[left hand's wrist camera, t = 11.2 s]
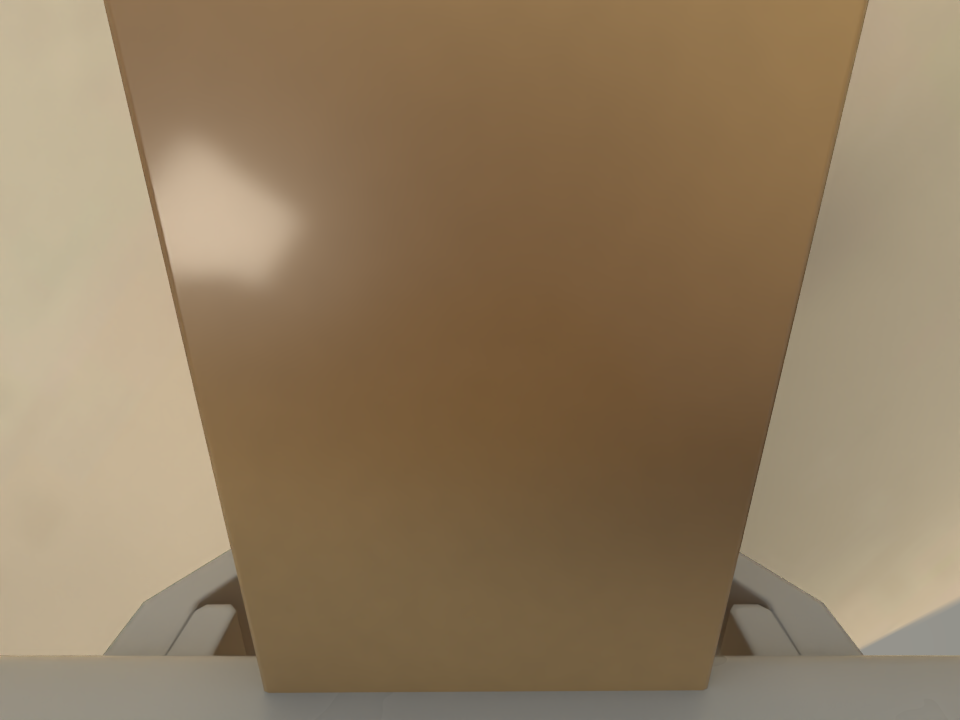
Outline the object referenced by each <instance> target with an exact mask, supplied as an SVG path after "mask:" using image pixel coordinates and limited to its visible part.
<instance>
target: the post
mask: <svg viewBox="0 0 960 720" xmlns="http://www.w3.org/2000/svg"><path fill="white" fill-rule="evenodd" d="M868 1H869V0H104V4H105V8H106V13H107V17H108V21H109V26H110V30H111V34H112V39H113V43H114V47H115V51H116V56H117V60H118V64H119V69H120V73H121V77H122V82H123V86H124V90H125V94H126V99H127V103H128V107H129V112H130V116H131V120H132V125H133V129H134V133H135V137H136V142H137V146H138V150H139V155H140V159H141V163H142V168H143V172H144V176H145V180H146V185H147V189H148V193H149V198H150V202H151V206H152V211H153V215H154V219H155V223H156V228H157V232H158V236H159V241H160V245H161V249H162V254H163V258H164V262H165V266H166V271H167V275H168V279H169V284H170V288H171V292H172V297H173V301H174V305H175V309H176V314H177V318H178V322H179V327H180V331H181V335H182V340H183V344H184V348H185V352H186V357H187V361H188V365H189V370H190V374H191V378H192V383H193V387H194V391H195V396H196V400H197V404H198V408H199V413H200V417H201V421H202V426H203V430H204V434H205V439H206V443H207V447H208V451H209V456H210V460H211V464H212V469H213V473H214V477H215V482H216V486H217V490H218V494H219V499H220V503H221V507H222V512H223V516H224V520H225V525H226V529H227V533H228V537H229V542H230V546H231V550H232V555H233V559H234V563H235V568H236V572H237V576H238V580H239V585H240V589H241V593H242V598H243V602H244V606H245V611H246V615H247V619H248V623H249V628H250V632H251V636H252V641H253V645H254V649H255V654H256V658H257V662H258V666H259V671H260V675H261V679H262V684H263V688H264V691H265V692H268V693H341V692H506V691H671V690H705V689H707V687H708V683H709V679H710V674H711V670H712V666H713V662H714V657H715V653H716V649H717V645H718V640H719V636H720V632H721V627H722V623H723V619H724V615H725V610H726V606H727V602H728V598H729V593H730V589H731V585H732V581H733V576H734V572H735V568H736V564H737V559H738V555H739V551H740V547H741V542H742V538H743V534H744V529H745V525H746V521H747V517H748V512H749V508H750V504H751V500H752V495H753V491H754V487H755V483H756V478H757V474H758V470H759V466H760V461H761V457H762V453H763V449H764V444H765V440H766V436H767V431H768V427H769V423H770V419H771V414H772V410H773V406H774V402H775V397H776V393H777V389H778V385H779V380H780V376H781V372H782V368H783V363H784V359H785V355H786V351H787V346H788V342H789V338H790V333H791V329H792V325H793V321H794V316H795V312H796V308H797V304H798V299H799V295H800V291H801V287H802V282H803V278H804V274H805V270H806V265H807V261H808V257H809V253H810V248H811V244H812V240H813V235H814V231H815V227H816V223H817V218H818V214H819V210H820V206H821V201H822V197H823V193H824V189H825V184H826V180H827V176H828V172H829V167H830V163H831V159H832V154H833V150H834V146H835V142H836V137H837V133H838V129H839V125H840V120H841V116H842V112H843V108H844V103H845V99H846V95H847V91H848V86H849V82H850V78H851V74H852V69H853V65H854V61H855V56H856V52H857V48H858V44H859V39H860V35H861V31H862V27H863V22H864V18H865V14H866V10H867V5H868Z"/></svg>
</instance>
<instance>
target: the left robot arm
mask: <svg viewBox="0 0 960 720" xmlns="http://www.w3.org/2000/svg"><path fill="white" fill-rule="evenodd" d="M0 720H960V656H864V655H863V654H862V653H861V651H860V650H859V649H858V647H857V646H856V645H855V643H854V642H853V641H852V640H851V638H850V637H849V636H848V634H847V633H846V632H845V631H844V629H843V628H842V627H841V625H840V624H839V623H838V622H837V620H836V619H835V618H834V616H833V615H832V614H831V612H830V611H829V610H828V609H827V607H826V606H825V605H824V603H822V602H821V601H819V600H817V599H816V598H814V597H812V596H811V595H809V594H808V593H806V592H804V591H803V590H801V589H799V588H798V587H796V586H794V585H793V584H791V583H789V582H788V581H786V580H784V579H783V578H781V577H779V576H778V575H776V574H775V573H773V572H771V571H770V570H768V569H766V568H765V567H763V566H761V565H760V564H758V563H756V562H755V561H753V560H751V559H750V558H748V557H747V556H745V555H743V554H742V553H740V552H739V555H738V559H737V564H736V568H735V572H734V576H733V581H732V585H731V589H730V593H729V598H728V602H727V606H726V610H725V615H724V619H723V623H722V627H721V632H720V636H719V640H718V645H717V649H716V653H715V657H714V662H713V666H712V670H711V674H710V679H709V683H708V687H707V689H705V690H671V691H506V692H341V693H268V692H265V691H264V688H263V684H262V679H261V675H260V671H259V666H258V662H257V658H256V654H255V649H254V645H253V641H252V636H251V632H250V628H249V623H248V619H247V615H246V611H245V606H244V602H243V598H242V593H241V589H240V585H239V580H238V576H237V572H236V568H235V563H234V559H233V555H232V550H231V549H230V550H228V551H227V552H225V553H223V554H222V555H220V556H218V557H217V558H215V559H214V560H212V561H210V562H209V563H207V564H205V565H204V566H202V567H200V568H199V569H197V570H196V571H194V572H192V573H191V574H189V575H187V576H186V577H184V578H182V579H181V580H179V581H178V582H176V583H174V584H173V585H171V586H169V587H168V588H166V589H164V590H163V591H161V592H159V593H158V594H156V595H155V596H153V597H151V598H150V599H148V600H146V601H145V602H143V604H142V605H141V606H140V608H139V609H138V610H137V611H136V613H135V614H134V615H133V617H132V618H131V619H130V621H129V622H128V623H127V624H126V626H125V627H124V628H123V630H122V631H121V632H120V634H119V635H118V636H117V638H116V639H115V640H114V641H113V643H112V644H111V645H110V647H109V648H108V649H107V651H106V652H105V653H104V654H103V656H0Z"/></svg>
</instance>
